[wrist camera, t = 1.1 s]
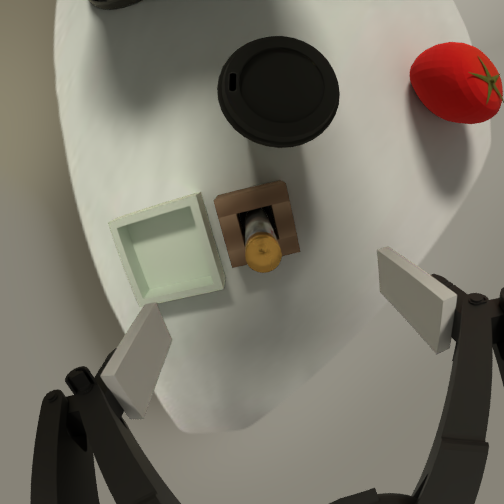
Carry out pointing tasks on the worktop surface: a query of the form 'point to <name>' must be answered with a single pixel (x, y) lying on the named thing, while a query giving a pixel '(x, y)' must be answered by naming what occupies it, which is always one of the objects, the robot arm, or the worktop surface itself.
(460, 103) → the tomato
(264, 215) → the pin
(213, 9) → the worktop surface
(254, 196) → the socket block
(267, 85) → the coffee cup
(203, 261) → the tray
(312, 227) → the worktop surface
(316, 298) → the worktop surface
